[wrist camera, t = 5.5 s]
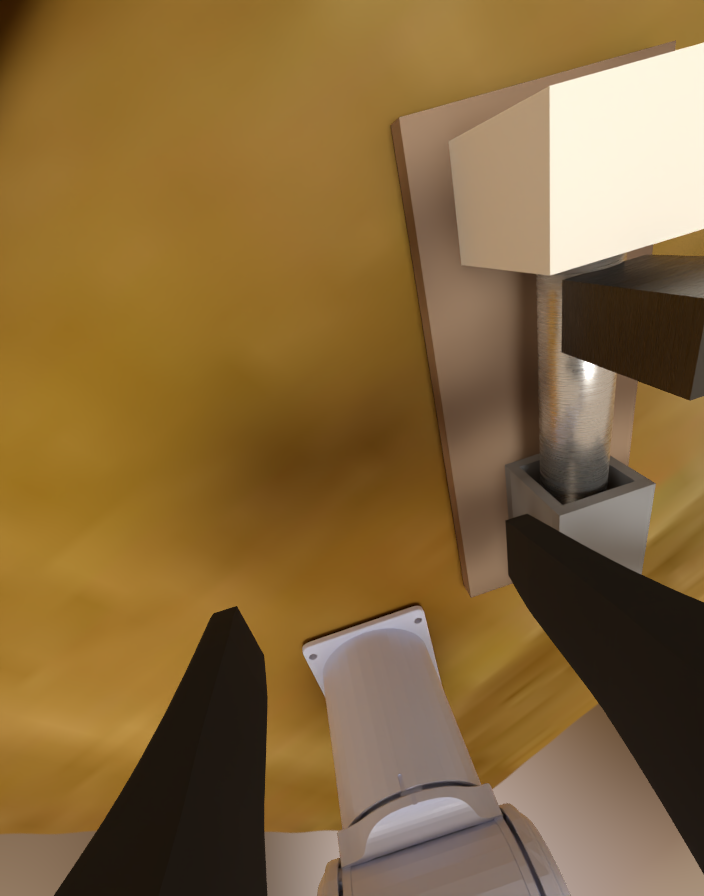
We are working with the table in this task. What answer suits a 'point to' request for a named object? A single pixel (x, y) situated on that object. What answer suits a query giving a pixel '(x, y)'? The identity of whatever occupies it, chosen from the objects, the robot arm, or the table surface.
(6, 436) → the table surface
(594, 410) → the dark grey angular piece
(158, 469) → the table surface
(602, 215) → the socket block
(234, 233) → the table surface
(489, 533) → the track base
